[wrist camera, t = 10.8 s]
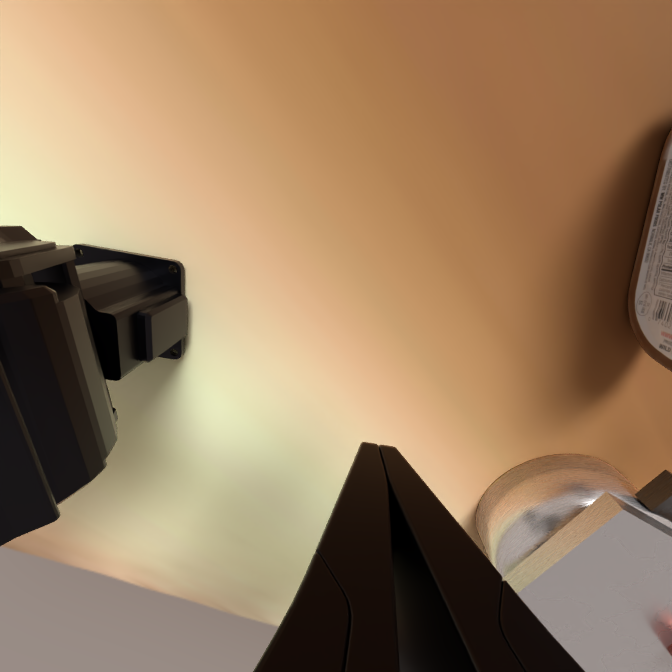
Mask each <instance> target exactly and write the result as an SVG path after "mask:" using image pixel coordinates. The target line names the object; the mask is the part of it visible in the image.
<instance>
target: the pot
mask: <svg viewBox="0 0 672 672" xmlns="http://www.w3.org/2000/svg"><path fill="white" fill-rule="evenodd" d="M606 491H607V492H608V493H610V494H612V495H614V496H615V497H617V498H619V499H621V500H622V501H624V502H626V503H628V504H629V505H631V506H633V507H635V508H636V509H638V510H640V511H642V512H643V513H645V514H647V515H649V516H650V517H652V518H654V519H655V520H657V521H659V522H661V523H662V524H664V525H666V526H668V527H669V528H671V529H672V473H671V472H669V471H667V470H664V471H663V472H662V473H661V474H659V475H658V476H657V477H656V478H654V479H653V480H652V481H651V482H650V483H648V484H647V485H646V486H645V487H643V488H642V489H641V490H640V491H639V490H638V489H637V488H636V487H635V486H634V485H633V484H631V483H630V482H629V481H628V480H627V479H626V478H625V477H624V476H623V475H622V474H621V473H620V472H618V471H617V470H616V469H615V468H614V467H613V466H611V465H610V464H608V463H606V462H604V461H602V460H600V459H597V458H594V457H591V456H585V455H579V454H557V455H550V456H545V457H541V458H537V459H534V460H531V461H528V462H525V463H523V464H521V465H519V466H516V467H515V468H513V469H511V470H509V471H508V472H506V473H505V474H503V475H502V476H501V477H499V478H498V479H497V480H496V481H495V482H494V483H493V484H492V485H491V486H490V487H489V488H488V489H487V491H486V492H485V493H484V495H483V496H482V498H481V500H480V502H479V505H478V508H477V511H476V527H477V530H478V533H479V535H480V538H481V540H482V543H483V545H484V547H485V550H486V552H487V554H488V557H489V559H490V561H491V563H492V564H493V566H494V567H495V568H496V569H497V570H498V572H499V573H500V574H501V575H502V578H503V577H505V576H506V575H507V574H508V573H509V572H511V571H512V570H513V569H514V568H515V567H516V566H518V565H519V564H520V563H521V562H522V561H524V560H525V559H526V558H527V557H528V556H530V555H531V554H532V553H533V552H534V551H536V550H537V549H538V548H539V547H540V546H542V545H543V544H544V543H545V542H546V541H548V540H549V539H550V538H551V537H552V536H554V535H555V534H556V533H557V532H558V531H559V530H561V529H562V528H563V527H564V526H565V525H567V524H568V523H569V522H570V521H571V520H573V519H574V518H575V517H576V516H577V515H579V514H580V513H581V512H582V511H583V510H585V509H586V508H587V507H588V506H589V505H591V504H592V503H593V502H594V501H595V500H596V499H598V498H599V497H600V496H601V495H602V494H604V493H605V492H606Z"/></svg>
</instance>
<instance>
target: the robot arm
mask: <svg viewBox="0 0 672 672" xmlns="http://www.w3.org/2000/svg"><path fill="white" fill-rule="evenodd" d="M80 250H82V251H83V256H82V255H81V253H80ZM172 266H175V267H176V268H177V272H174V271H173V270H172ZM186 335H187V298H186V296H185V295H184V266H183V265H182V263H180V262H179V261H177V260H172V259H166V258H161V257H155V256H149V255H144V254H138V253H132V252H127V251H121V250H115V249H110V248H104V247H98V246H92V245H87V244H75V245H73V246H64V245H56V244H55V242H48V241H41V240H37V239H36V238H35V237H34V236H33V235H31V234H30V233H29V232H28V231H27V230H25V229H24V228H23V227H22V226H0V546H1V545H3V544H5V543H7V542H9V541H11V540H12V539H14V538H16V537H18V536H21V535H23V534H26V533H28V532H31V531H33V530H35V529H38V528H40V527H43V526H45V525H47V524H50V523H52V522H54V521H56V520H57V519H58V518H59V517H60V512H59V510H58V507H57V505H58V504H60V503H62V502H63V501H65V500H66V499H68V498H69V497H70V496H72V495H73V494H75V493H76V492H78V491H79V490H80V489H82V488H83V487H85V486H86V485H88V484H89V483H90V482H91V481H92V480H93V479H94V478H95V477H96V476H97V475H98V474H99V473H100V472H101V471H102V470H103V469H104V468H105V467H106V465H107V464H106V460H105V459H106V457H107V456H108V455H109V453H110V451H111V450H112V448H113V446H114V444H115V443H116V441H117V426H116V421H117V419H118V417H117V413H116V409H115V408H113V407H112V403H111V399H110V395H109V392H108V388H107V384H106V380H105V379H108V380H115V381H117V380H120V379H121V378H122V377H124V376H125V375H127V374H128V373H129V372H131V371H132V370H133V369H135V368H136V367H138V366H139V365H140V364H142V363H143V362H151V361H152V360H154V359H155V358H156V357H163V358H169V359H179V358H180V357H181V356H182V355H183V354H184V337H185V336H186ZM173 349H175V350H177V352H178V354H177V353H175V352H174V351H173ZM502 580H503V578H502V575H501V574H500V573H499V572H498V570H497V569H496V568H495V567H494V566H493V564H492V563H491V562H490V561H489V560H488V558H487V557H486V556H485V555H484V554H483V552H482V551H481V550H480V549H479V548H478V546H477V545H476V544H475V543H474V542H473V540H472V539H471V538H470V537H469V535H468V534H467V533H466V532H465V531H464V529H463V528H462V527H461V526H460V525H459V523H458V522H457V521H456V520H455V519H454V517H453V516H452V515H451V514H450V513H449V511H448V510H447V509H446V508H445V507H444V505H443V504H442V503H441V502H440V500H439V499H438V498H437V497H436V496H435V494H434V493H433V492H432V491H431V490H430V488H429V487H428V486H427V485H426V484H425V482H424V481H423V480H422V479H421V478H420V476H419V475H418V474H417V473H416V472H415V470H414V469H413V468H412V467H411V465H410V464H409V463H408V462H407V461H406V459H405V458H404V457H403V456H402V455H401V453H400V452H399V451H398V450H397V449H396V448H395V447H393V446H386V445H379V446H378V445H377V444H374V443H367V442H362V443H361V445H360V447H359V449H358V452H357V454H356V457H355V459H354V461H353V464H352V466H351V468H350V471H349V473H348V475H347V478H346V480H345V483H344V485H343V487H342V490H341V492H340V494H339V497H338V499H337V501H336V504H335V506H334V509H333V511H332V513H331V516H330V518H329V520H328V523H327V525H326V527H325V530H324V532H323V535H322V537H321V539H320V542H319V544H318V546H317V549H316V552H315V554H314V555H313V558H312V560H311V562H310V565H309V567H308V569H307V572H306V574H305V576H304V578H303V581H302V583H301V585H300V587H299V589H298V591H297V593H296V596H295V598H294V600H293V602H292V604H291V606H290V607H289V609H288V611H287V613H286V615H285V617H284V618H283V620H282V622H281V624H280V626H279V628H278V630H277V632H276V633H275V635H274V637H273V639H272V640H271V642H270V644H269V645H268V647H267V649H266V651H265V652H264V654H263V656H262V657H261V659H260V661H259V663H258V664H257V666H256V668H255V669H254V671H253V672H585V671H584V670H583V668H582V667H581V666H580V665H579V664H578V663H577V662H576V661H575V660H574V659H573V657H572V656H571V655H570V654H569V653H568V652H567V651H566V650H565V649H564V648H563V646H562V645H561V644H560V643H559V642H558V641H557V640H556V639H555V638H554V637H553V635H552V634H551V633H550V632H549V631H548V630H547V628H546V627H545V626H544V625H543V624H542V623H541V621H540V620H539V619H538V618H537V617H536V616H535V614H534V613H533V612H532V611H531V610H530V609H529V607H528V606H527V605H526V604H525V603H524V602H523V600H522V599H521V598H520V597H519V596H518V594H517V593H516V592H515V591H514V590H513V588H512V587H511V586H510V585H509V584H508V582H507V581H505V580H503V581H502Z"/></svg>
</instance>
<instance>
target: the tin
mask: <svg viewBox="0 0 672 672" xmlns="http://www.w3.org/2000/svg"><path fill="white" fill-rule="evenodd" d="M628 313H629V319H630V324H631V327H632V329H633V332H634V334H635V336H636V338H637V340H638V342H639V343H640V345H641V346H642V348H643V349H644V350H645V352H646V353H647V354H648V355H649V356H650V357H652V358H653V359H654V360H656V361H657V362H658V363H660V364H661V365H662V366H664V367H665V368H667V369H668V370H670V371H671V372H672V129H671V131H670V133H669V135H668V137H667V139H666V142H665V145H664V148H663V151H662V154H661V158H660V162H659V166H658V170H657V174H656V179H655V183H654V187H653V191H652V195H651V199H650V203H649V207H648V211H647V215H646V219H645V224H644V228H643V232H642V236H641V240H640V244H639V249H638V253H637V257H636V261H635V265H634V269H633V273H632V278H631V282H630V286H629V293H628Z"/></svg>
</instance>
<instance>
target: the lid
mask: <svg viewBox="0 0 672 672" xmlns="http://www.w3.org/2000/svg"><path fill="white" fill-rule="evenodd" d="M503 580H505V581H507V582H508V584H509V585H510V586H511V587H512V588H513V590H514V591H515V592H516V593H517V594H518V596H519V597H520V598H521V599H522V600H523V602H524V603H525V604H526V605H527V606H528V607H529V609H530V610H531V611H532V612H533V613H534V614H535V616H536V617H537V618H538V619H539V620H540V621H541V623H542V624H543V625H544V626H545V627H546V628H547V630H548V631H549V632H550V633H551V634H552V635H553V637H554V638H555V639H556V640H557V641H558V642H559V643H560V644H561V645H562V646H563V648H564V649H565V650H566V651H567V652H568V653H569V654H570V655H571V656H572V657H573V659H574V660H575V661H576V662H577V663H578V664H579V665H580V666H581V667H582V668H583V670H584V671H585V672H672V529H671V528H669V527H668V526H666V525H664V524H662V523H661V522H659V521H657V520H655V519H654V518H652V517H650V516H649V515H647V514H645V513H643V512H642V511H640V510H638V509H636V508H635V507H633V506H631V505H629V504H628V503H626V502H624V501H622V500H621V499H619V498H617V497H615V496H614V495H612V494H610V493H608V492H607V491H606V492H605V493H604V494H602V495H601V496H600V497H599V498H598V499H596V500H595V501H594V502H593V503H592V504H591V505H589V506H588V507H587V508H586V509H585V510H583V511H582V512H581V513H580V514H579V515H577V516H576V517H575V518H574V519H573V520H571V521H570V522H569V523H568V524H567V525H565V526H564V527H563V528H562V529H561V530H559V531H558V532H557V533H556V534H555V535H554V536H552V537H551V538H550V539H549V540H548V541H546V542H545V543H544V544H543V545H542V546H540V547H539V548H538V549H537V550H536V551H534V552H533V553H532V554H531V555H530V556H528V557H527V558H526V559H525V560H524V561H522V562H521V563H520V564H519V565H518V566H516V567H515V568H514V569H513V570H512V571H511V572H509V573H508V574H507V575H506V576H505V577H503ZM503 580H502V581H503Z"/></svg>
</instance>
